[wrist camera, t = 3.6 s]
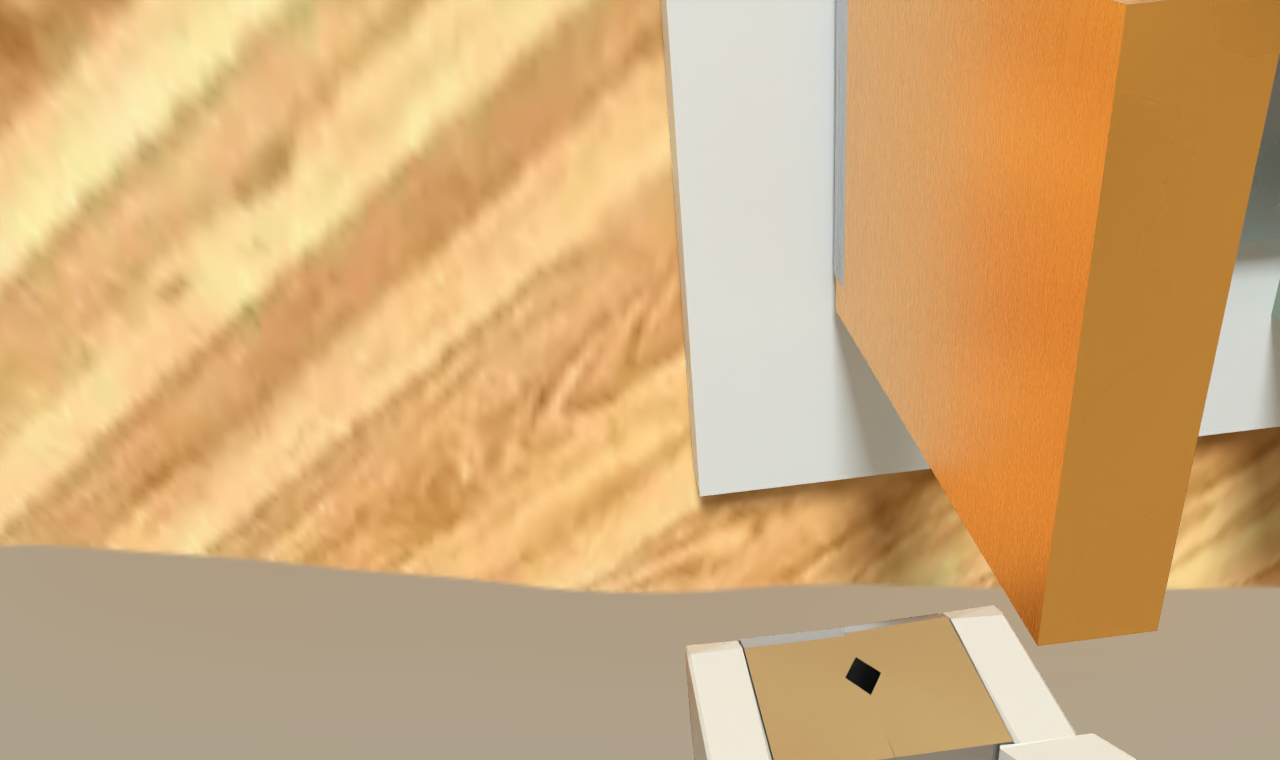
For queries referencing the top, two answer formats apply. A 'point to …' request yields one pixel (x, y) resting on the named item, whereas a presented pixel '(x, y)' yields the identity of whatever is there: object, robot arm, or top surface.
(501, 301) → the top surface
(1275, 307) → the tunnel
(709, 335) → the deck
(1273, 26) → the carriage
